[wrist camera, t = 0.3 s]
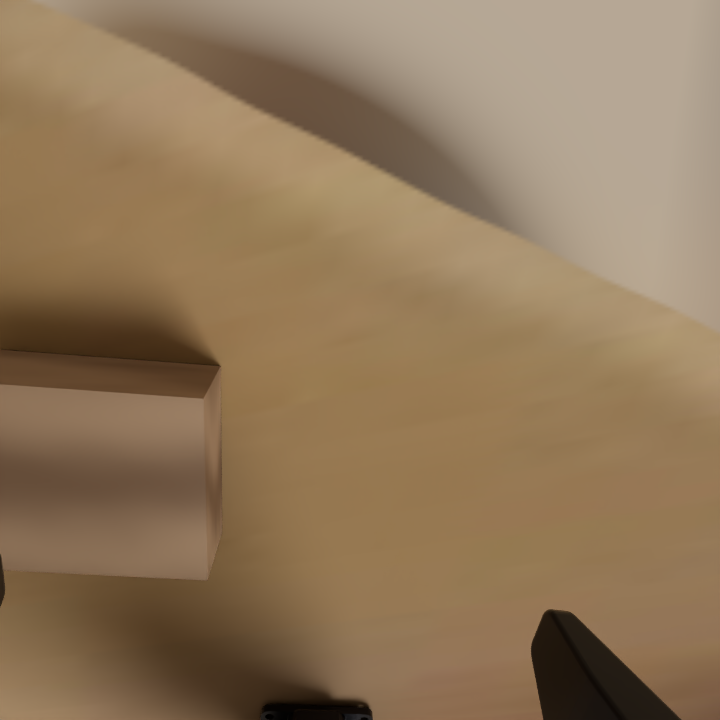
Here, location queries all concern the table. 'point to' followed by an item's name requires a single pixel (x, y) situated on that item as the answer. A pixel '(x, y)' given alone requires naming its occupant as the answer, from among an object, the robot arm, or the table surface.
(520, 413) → the table surface
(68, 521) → the tan flat square block
